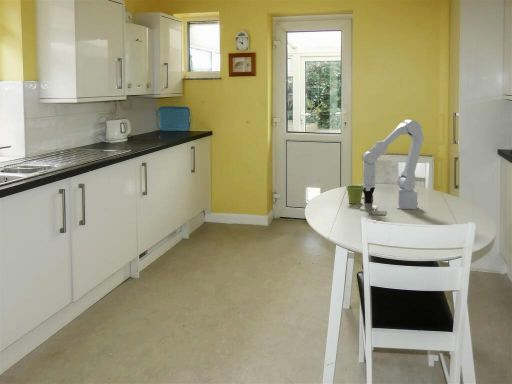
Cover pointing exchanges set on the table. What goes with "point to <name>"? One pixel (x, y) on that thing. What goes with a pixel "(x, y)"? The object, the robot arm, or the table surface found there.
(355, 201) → the plant pot
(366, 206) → the grey square holder
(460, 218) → the table surface
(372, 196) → the dark grey rounded piece
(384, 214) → the coaster
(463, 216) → the table surface
